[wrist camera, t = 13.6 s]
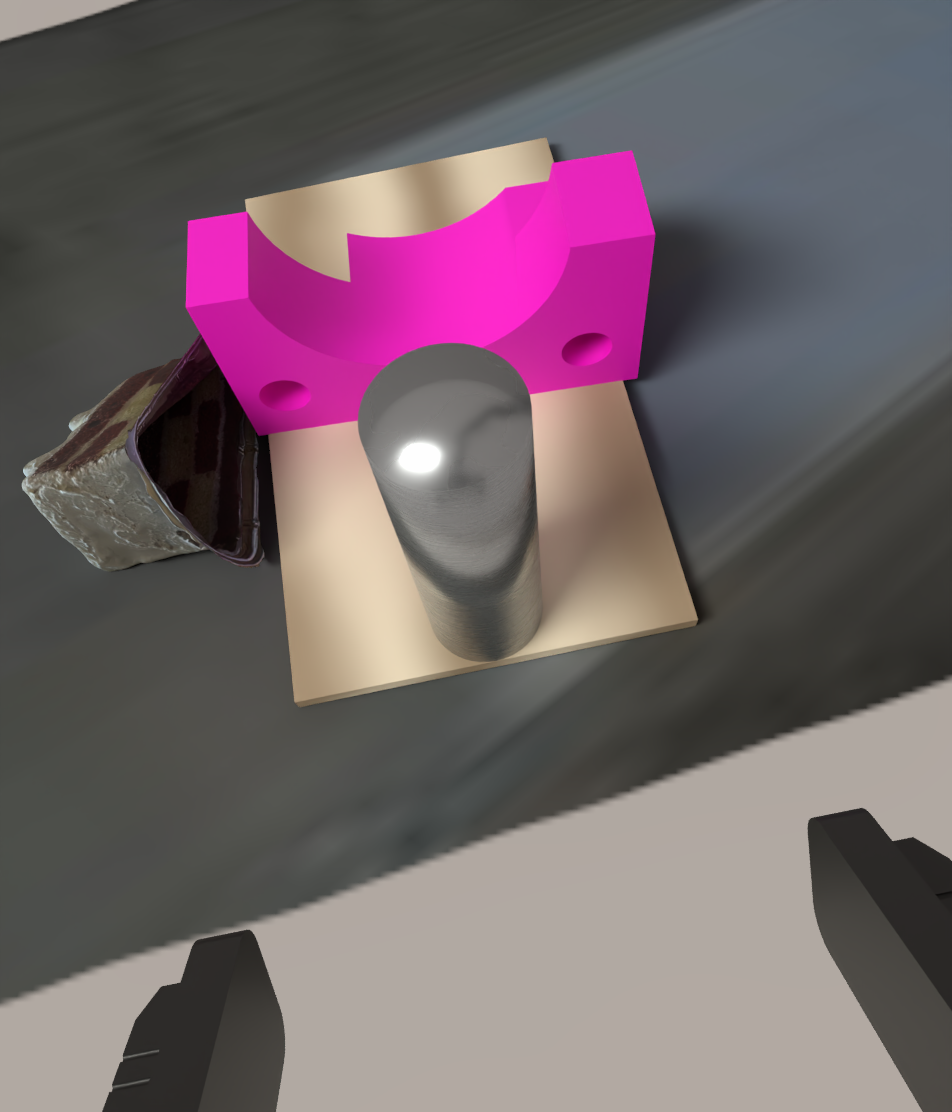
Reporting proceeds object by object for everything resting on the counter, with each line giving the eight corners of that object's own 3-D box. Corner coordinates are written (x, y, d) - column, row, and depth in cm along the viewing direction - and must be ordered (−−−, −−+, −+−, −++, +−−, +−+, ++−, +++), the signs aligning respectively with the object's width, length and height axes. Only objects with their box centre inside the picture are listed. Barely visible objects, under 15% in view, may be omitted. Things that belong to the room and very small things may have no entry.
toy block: (608, 257, 37) (617, 99, 31) (637, 378, 35) (655, 234, 28) (256, 312, 38) (189, 168, 31) (258, 435, 35) (185, 307, 28)
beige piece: (546, 148, 41) (540, -166, 30) (695, 625, 31) (773, 423, 20) (249, 209, 41) (130, -81, 30) (299, 707, 31) (145, 552, 20)
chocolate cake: (112, 346, 40) (-103, 399, 29) (248, 294, 37) (71, 329, 26) (200, 542, 42) (35, 659, 31) (332, 504, 40) (203, 615, 29)
